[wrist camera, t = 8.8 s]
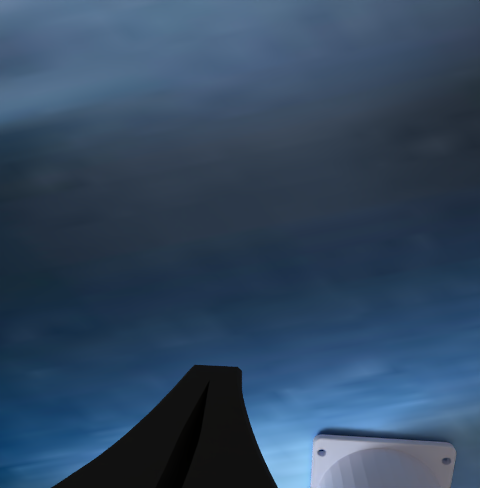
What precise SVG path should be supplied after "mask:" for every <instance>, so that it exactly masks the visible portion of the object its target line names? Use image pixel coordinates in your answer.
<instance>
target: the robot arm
mask: <svg viewBox="0 0 480 488" xmlns="http://www.w3.org/2000/svg"><path fill="white" fill-rule="evenodd" d="M320 449H323V450H324V451H318V450H320ZM443 458H447V459H443ZM455 460H456V450H455V448H454V446H453V445H452V444H450V443H447V442H434V441H418V440H403V439H387V438H371V437H355V436H339V435H324V434H321V435H317V436H315V438H314V439H313V451H312V469H311V486H310V488H450V487H451V482H452V476H453V471H454V465H455ZM51 488H278V487H277V485H276V483H275V481H274V479H273V477H272V475H271V473H270V471H269V469H268V467H267V465H266V463H265V461H264V458H263V456H262V454H261V452H260V449H259V447H258V444H257V441H256V439H255V436H254V433H253V431H252V428H251V425H250V422H249V418H248V415H247V411H246V407H245V404H244V399H243V394H242V371H241V370H240V369H239V368H238V367H228V366H207V365H194V366H193V367H192V368H191V369H190V370H189V371H188V372H187V373H186V375H185V376H184V377H183V378H182V379H181V380H180V381H179V382H178V384H177V385H176V386H175V387H174V388H173V389H172V390H171V391H170V392H169V393H168V394H167V395H166V396H165V397H164V398H163V399H162V401H161V402H160V403H159V404H158V405H157V406H156V407H155V408H154V409H153V410H152V411H151V412H150V413H149V414H148V415H146V416H145V417H144V418H143V419H142V420H141V421H140V422H139V423H138V424H137V425H136V426H134V427H133V428H132V429H131V430H130V431H129V432H128V433H127V434H126V435H124V436H123V437H122V438H121V439H120V440H118V441H117V442H116V443H115V444H114V445H112V446H111V447H110V448H109V449H107V450H106V451H105V452H103V453H102V454H101V455H99V456H98V457H97V458H95V459H94V460H92V461H91V462H90V463H88V464H87V465H85V466H84V467H82V468H81V469H79V470H77V471H76V472H74V473H73V474H71V475H70V476H68V477H67V478H65V479H64V480H62V481H61V482H59V483H58V484H56V485H55V486H53V487H51Z"/></svg>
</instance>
